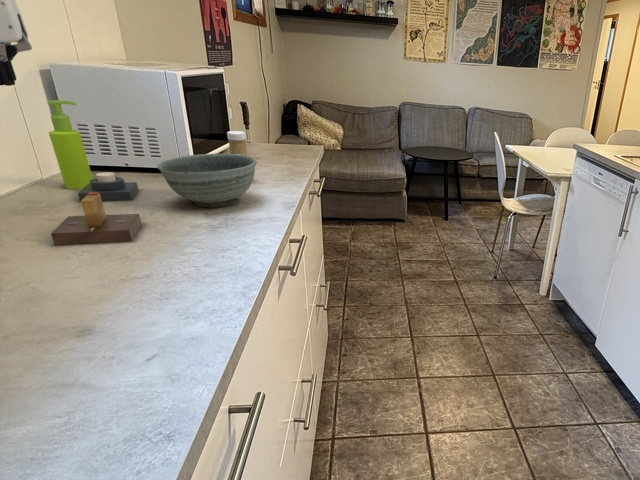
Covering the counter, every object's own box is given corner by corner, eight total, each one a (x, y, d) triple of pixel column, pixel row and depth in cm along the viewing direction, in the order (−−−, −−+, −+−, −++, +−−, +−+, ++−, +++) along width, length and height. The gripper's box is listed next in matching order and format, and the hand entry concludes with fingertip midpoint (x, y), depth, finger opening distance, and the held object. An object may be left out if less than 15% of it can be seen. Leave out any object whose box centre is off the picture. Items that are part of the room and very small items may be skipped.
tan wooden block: (99, 226, 88) (92, 199, 86) (88, 227, 88) (80, 199, 85) (106, 218, 92) (99, 191, 90) (95, 218, 92) (88, 192, 89)
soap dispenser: (99, 188, 118) (76, 102, 109) (65, 190, 114) (37, 101, 105) (99, 182, 122) (76, 99, 113) (66, 184, 118) (39, 98, 109)
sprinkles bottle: (235, 184, 130) (228, 133, 123) (232, 180, 133) (225, 130, 127) (252, 183, 132) (246, 133, 126) (249, 179, 135) (243, 130, 129)
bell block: (80, 202, 107) (75, 185, 105) (91, 192, 115) (86, 175, 113) (131, 201, 111) (127, 184, 109) (138, 191, 118) (135, 175, 116)
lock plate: (55, 246, 85) (50, 232, 84) (71, 228, 93) (67, 215, 92) (132, 242, 89) (128, 229, 88) (141, 225, 97) (138, 212, 96)
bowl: (261, 213, 109) (256, 170, 104) (158, 217, 102) (148, 171, 97) (261, 190, 126) (256, 152, 121) (172, 192, 119) (164, 151, 115)
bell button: (96, 183, 109) (94, 175, 108) (100, 179, 112) (98, 172, 111) (114, 183, 110) (112, 175, 109) (117, 179, 113) (115, 172, 112)
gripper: (-107, -46, 73) (-57, 84, 81) (13, -32, 78) (49, 88, 86) (-80, -39, 79) (-36, 81, 87) (30, -27, 84) (62, 85, 93)
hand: (6, 84), depth 87 cm, fingers closed
